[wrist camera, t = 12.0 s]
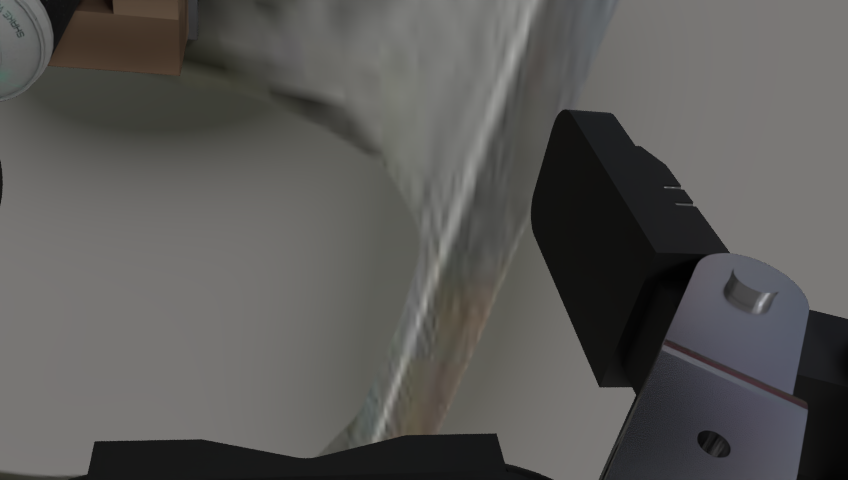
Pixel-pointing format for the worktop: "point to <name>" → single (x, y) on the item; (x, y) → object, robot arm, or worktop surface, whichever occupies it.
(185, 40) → the socket block
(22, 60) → the spray can
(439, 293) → the worktop surface
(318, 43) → the worktop surface
